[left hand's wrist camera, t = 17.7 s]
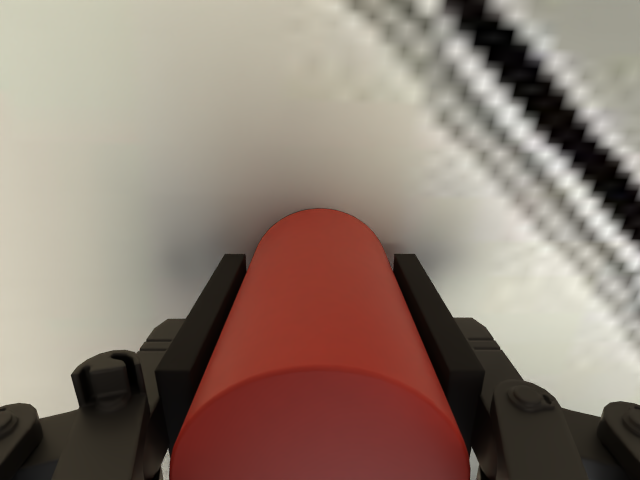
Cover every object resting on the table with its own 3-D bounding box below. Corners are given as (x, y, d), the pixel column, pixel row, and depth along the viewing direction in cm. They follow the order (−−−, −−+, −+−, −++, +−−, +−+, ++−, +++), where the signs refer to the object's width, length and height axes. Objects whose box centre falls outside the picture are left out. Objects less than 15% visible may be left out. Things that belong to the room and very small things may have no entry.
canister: (334, 351, 17) (349, 617, 8) (227, 287, 16) (115, 515, 7) (414, 258, 16) (537, 465, 7) (302, 179, 14) (276, 306, 6)
